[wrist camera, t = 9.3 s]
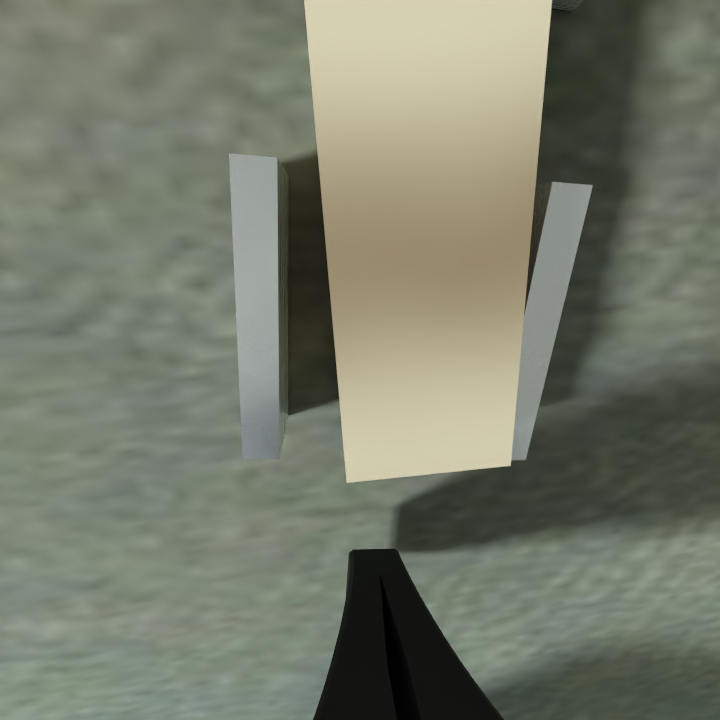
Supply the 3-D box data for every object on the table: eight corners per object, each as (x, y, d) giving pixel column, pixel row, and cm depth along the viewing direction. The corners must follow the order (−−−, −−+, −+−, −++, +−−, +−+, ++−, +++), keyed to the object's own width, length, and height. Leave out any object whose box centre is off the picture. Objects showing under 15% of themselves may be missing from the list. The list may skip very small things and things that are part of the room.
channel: (490, 419, 11) (525, 460, 9) (258, 415, 10) (242, 458, 8) (535, 195, 9) (592, 185, 7) (251, 171, 8) (228, 153, 6)
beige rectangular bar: (452, 390, 11) (510, 465, 7) (340, 400, 10) (346, 482, 7) (460, 49, 8) (560, -88, 5) (310, 55, 8) (296, -83, 4)
